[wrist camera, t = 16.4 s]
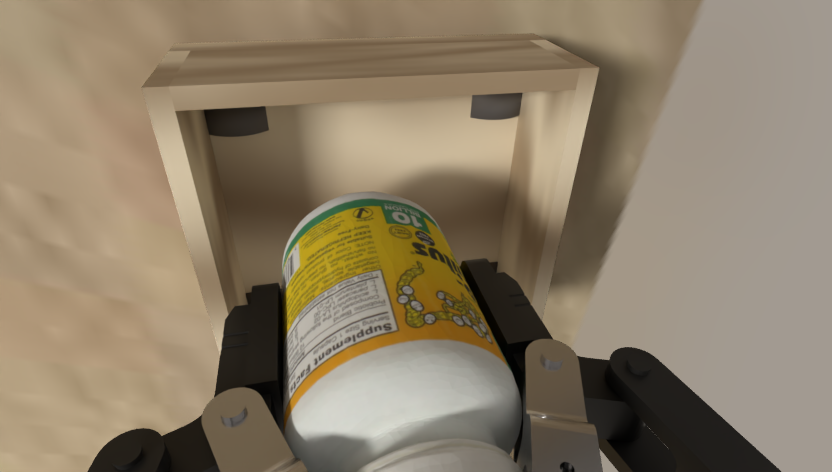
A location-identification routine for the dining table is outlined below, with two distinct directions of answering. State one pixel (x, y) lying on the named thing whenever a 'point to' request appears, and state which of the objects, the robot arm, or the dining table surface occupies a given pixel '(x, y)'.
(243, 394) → the robot arm
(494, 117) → the square wooden tray
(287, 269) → the supplement bottle
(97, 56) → the dining table surface
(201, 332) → the dining table surface
